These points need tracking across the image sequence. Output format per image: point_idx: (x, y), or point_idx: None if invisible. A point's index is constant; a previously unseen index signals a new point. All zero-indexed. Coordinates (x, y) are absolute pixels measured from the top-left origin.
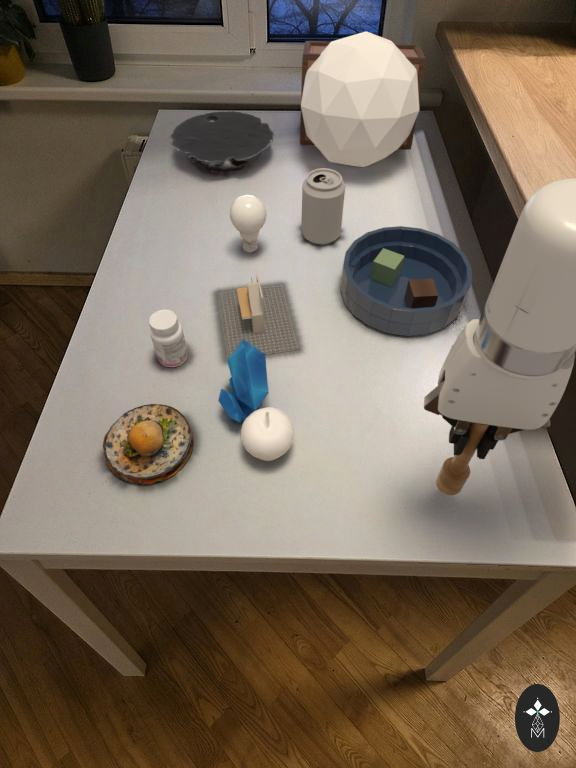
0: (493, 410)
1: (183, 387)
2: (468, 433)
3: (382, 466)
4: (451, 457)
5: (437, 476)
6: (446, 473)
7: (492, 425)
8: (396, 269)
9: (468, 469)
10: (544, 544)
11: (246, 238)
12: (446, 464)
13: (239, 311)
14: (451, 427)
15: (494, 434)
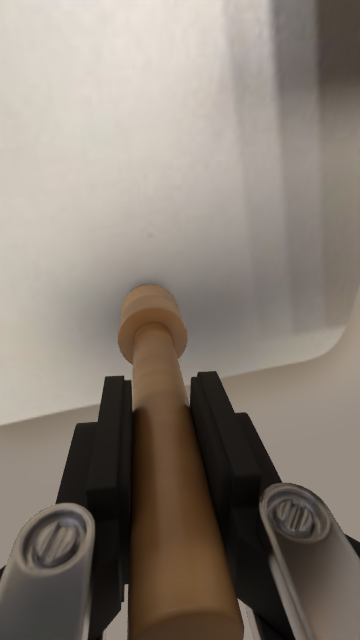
0: None
1: None
2: (127, 577)
3: (16, 250)
4: (139, 311)
5: (121, 310)
6: (128, 357)
7: (248, 577)
8: None
9: (182, 335)
10: (308, 338)
11: None
12: (126, 334)
13: None
14: (70, 448)
15: (251, 624)
